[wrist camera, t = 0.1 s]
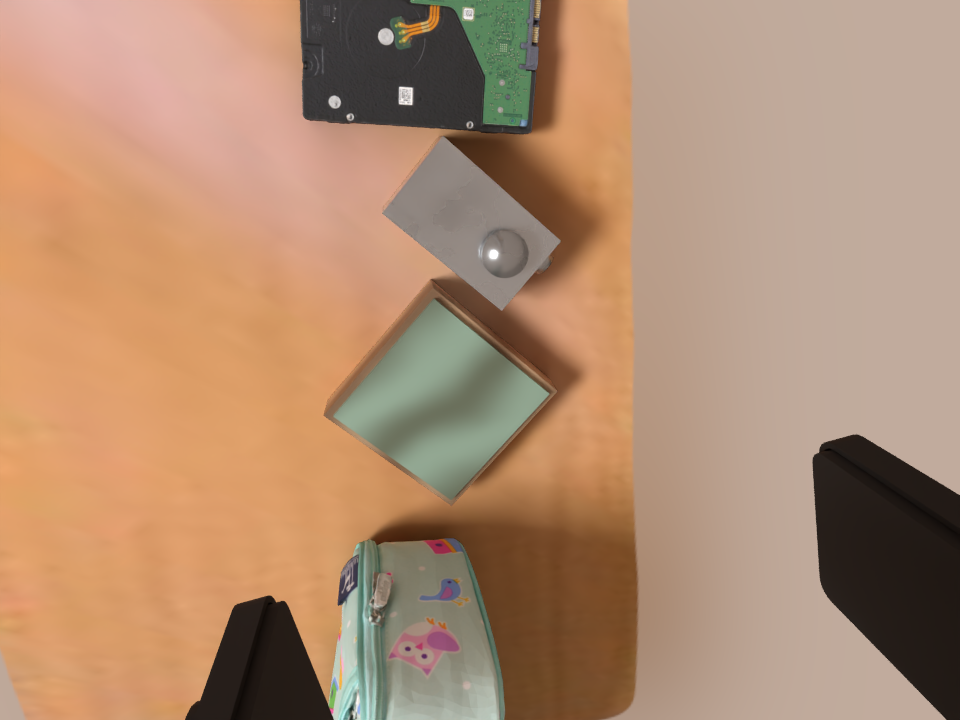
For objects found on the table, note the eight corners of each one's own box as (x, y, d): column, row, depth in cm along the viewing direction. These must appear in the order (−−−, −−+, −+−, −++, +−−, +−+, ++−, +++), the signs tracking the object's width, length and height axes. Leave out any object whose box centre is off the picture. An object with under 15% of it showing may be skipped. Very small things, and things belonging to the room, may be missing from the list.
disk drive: (308, 124, 43) (526, 135, 45) (302, 122, 40) (534, 134, 42) (302, -54, 40) (537, -35, 41) (294, -69, 37) (546, -47, 39)
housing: (383, 206, 45) (381, 214, 39) (437, 137, 44) (444, 135, 38) (500, 303, 48) (515, 323, 42) (553, 240, 47) (576, 253, 41)
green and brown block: (327, 400, 48) (322, 417, 45) (430, 279, 46) (433, 288, 43) (448, 486, 52) (452, 508, 49) (548, 377, 50) (559, 393, 47)
